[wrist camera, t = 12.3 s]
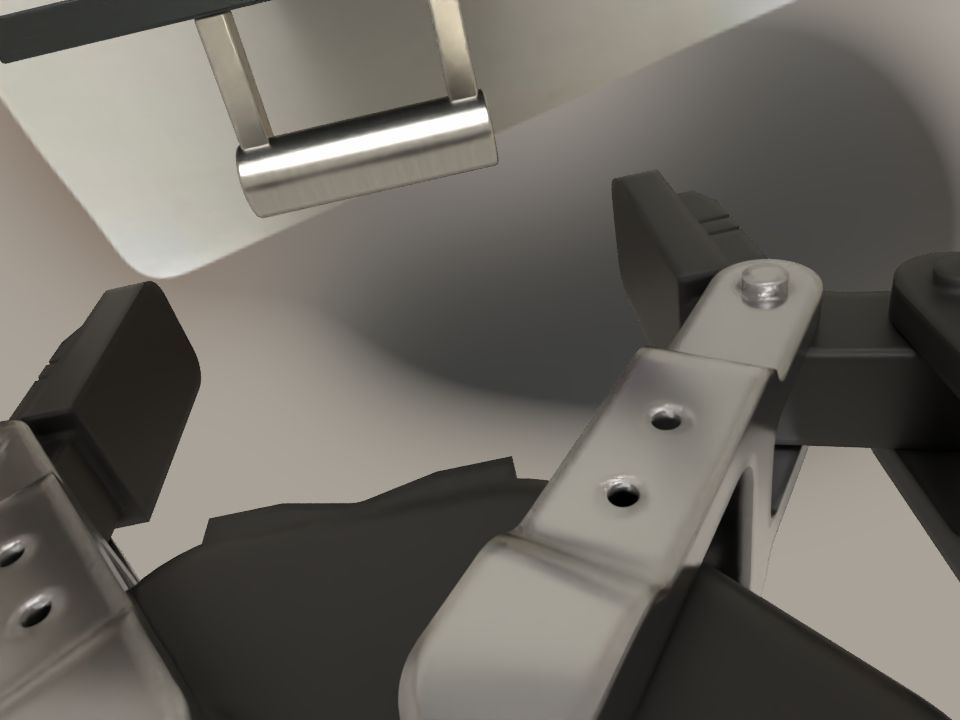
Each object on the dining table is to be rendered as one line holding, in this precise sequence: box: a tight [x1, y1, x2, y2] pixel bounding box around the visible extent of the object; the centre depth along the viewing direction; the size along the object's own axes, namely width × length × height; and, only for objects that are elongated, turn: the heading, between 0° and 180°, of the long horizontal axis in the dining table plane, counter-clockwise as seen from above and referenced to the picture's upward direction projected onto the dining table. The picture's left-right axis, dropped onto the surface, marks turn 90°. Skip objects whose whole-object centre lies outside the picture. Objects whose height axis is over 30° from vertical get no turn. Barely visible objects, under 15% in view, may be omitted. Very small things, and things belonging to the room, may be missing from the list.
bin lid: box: [0, 0, 498, 218], centre depth 22 cm, size 16×13×5 cm
